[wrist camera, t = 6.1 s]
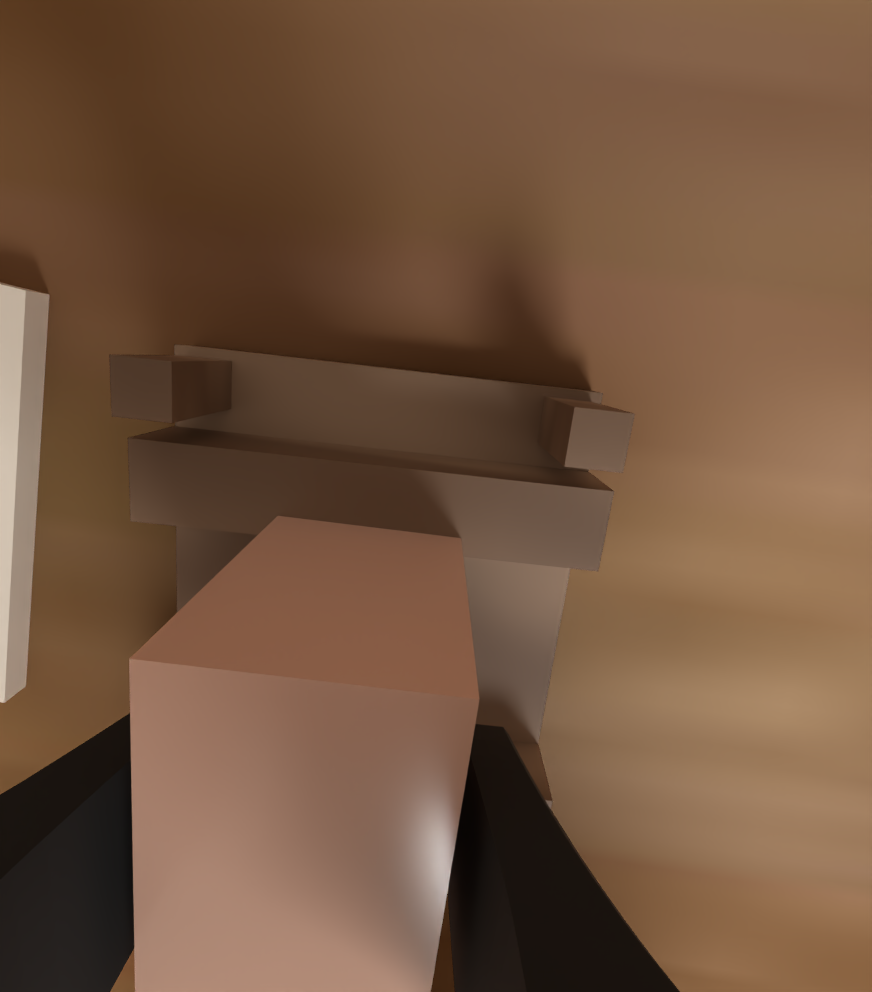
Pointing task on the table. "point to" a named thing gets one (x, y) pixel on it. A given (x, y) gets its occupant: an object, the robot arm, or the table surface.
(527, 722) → the rack
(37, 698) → the table surface
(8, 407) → the fired strip
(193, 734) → the salmon pink block
